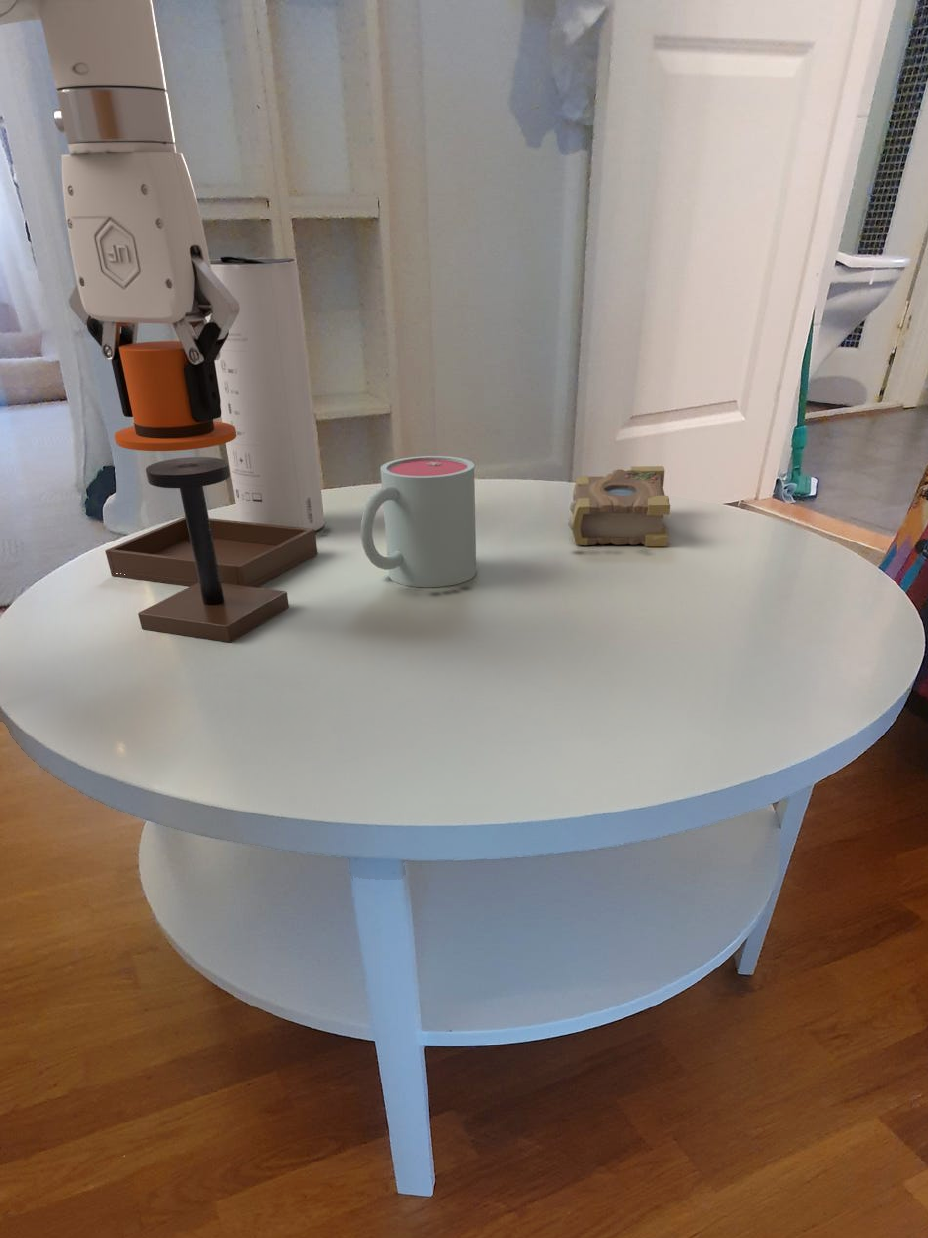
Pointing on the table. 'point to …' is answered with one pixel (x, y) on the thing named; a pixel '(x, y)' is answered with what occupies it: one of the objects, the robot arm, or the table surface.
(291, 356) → the white cylindrical canister
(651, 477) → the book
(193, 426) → the hat
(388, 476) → the mug
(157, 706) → the table surface
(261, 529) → the tray
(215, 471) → the hat stand
